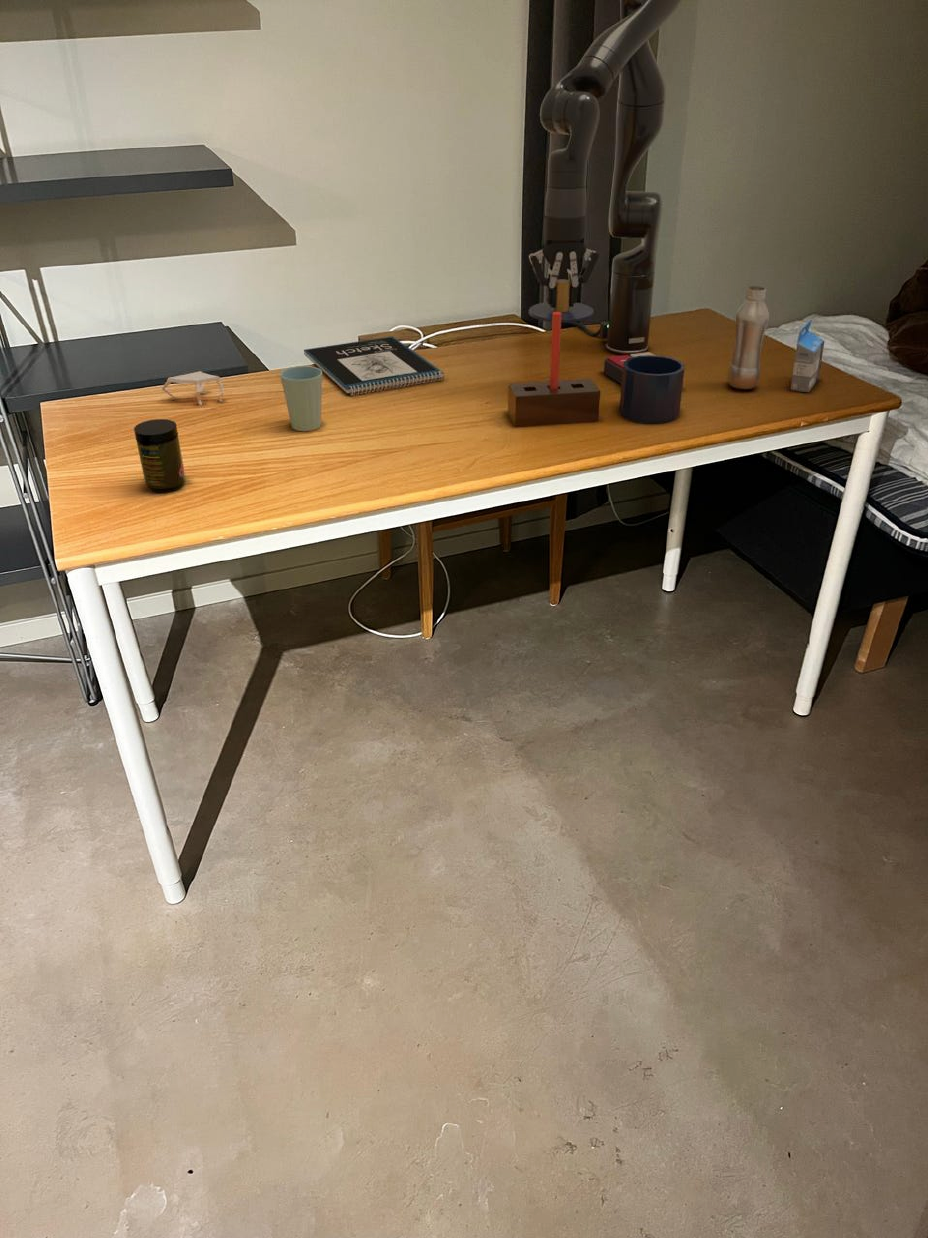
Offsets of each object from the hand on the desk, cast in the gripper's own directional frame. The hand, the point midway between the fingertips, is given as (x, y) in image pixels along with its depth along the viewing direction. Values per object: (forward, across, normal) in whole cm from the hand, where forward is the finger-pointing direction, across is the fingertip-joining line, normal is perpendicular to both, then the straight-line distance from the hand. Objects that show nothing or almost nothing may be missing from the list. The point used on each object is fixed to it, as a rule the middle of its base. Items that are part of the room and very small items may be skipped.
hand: (561, 305), depth 193 cm
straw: (+18, +4, +13) cm, 22 cm away
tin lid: (+1, 0, 0) cm, 1 cm away
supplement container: (+18, +75, +31) cm, 83 cm away
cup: (+18, +51, +9) cm, 55 cm away
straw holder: (+18, +4, +13) cm, 22 cm away
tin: (+18, -15, +14) cm, 27 cm away
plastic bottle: (+18, -38, +4) cm, 42 cm away
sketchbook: (+18, +36, -22) cm, 46 cm away
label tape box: (+18, -51, +5) cm, 54 cm away
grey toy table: (+18, +73, -9) cm, 76 cm away
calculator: (+18, -19, -3) cm, 26 cm away
